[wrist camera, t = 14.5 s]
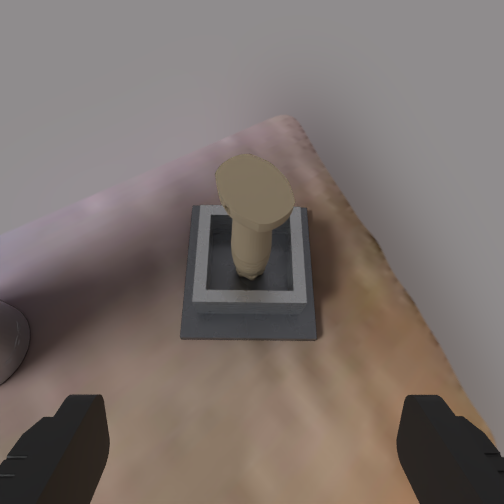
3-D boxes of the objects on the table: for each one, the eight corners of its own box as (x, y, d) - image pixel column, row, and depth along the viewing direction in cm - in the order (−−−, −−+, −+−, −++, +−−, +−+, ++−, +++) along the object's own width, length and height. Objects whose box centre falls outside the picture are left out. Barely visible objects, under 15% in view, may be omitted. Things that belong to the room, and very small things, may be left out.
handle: (250, 236, 40) (254, 144, 27) (284, 277, 38) (308, 201, 24) (215, 258, 39) (202, 174, 25) (249, 302, 37) (254, 235, 23)
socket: (181, 339, 36) (172, 328, 31) (193, 210, 43) (188, 185, 38) (314, 340, 36) (325, 330, 31) (305, 212, 43) (312, 188, 38)
